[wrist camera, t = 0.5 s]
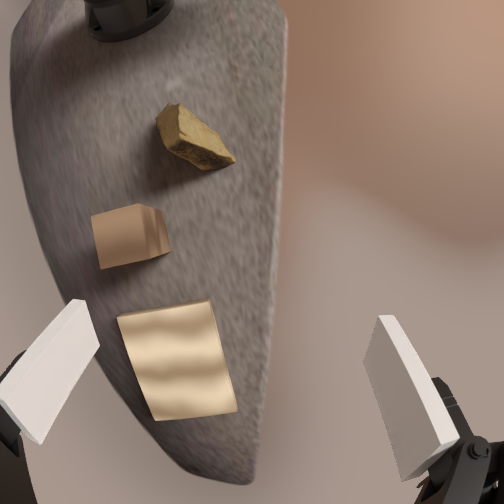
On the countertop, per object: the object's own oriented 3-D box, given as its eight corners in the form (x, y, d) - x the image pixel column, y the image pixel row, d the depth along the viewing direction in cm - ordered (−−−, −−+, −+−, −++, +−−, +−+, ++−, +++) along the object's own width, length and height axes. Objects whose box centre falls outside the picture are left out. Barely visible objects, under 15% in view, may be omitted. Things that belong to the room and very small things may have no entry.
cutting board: (122, 313, 33) (116, 317, 31) (209, 297, 34) (208, 301, 32) (157, 413, 35) (155, 420, 33) (237, 403, 36) (237, 411, 34)
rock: (135, 109, 30) (142, 179, 29) (164, 64, 23) (174, 140, 23) (206, 117, 37) (220, 179, 36) (243, 82, 30) (263, 150, 30)
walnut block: (126, 220, 33) (90, 216, 23) (163, 211, 33) (138, 203, 23) (133, 259, 33) (100, 269, 23) (170, 251, 34) (148, 259, 24)
